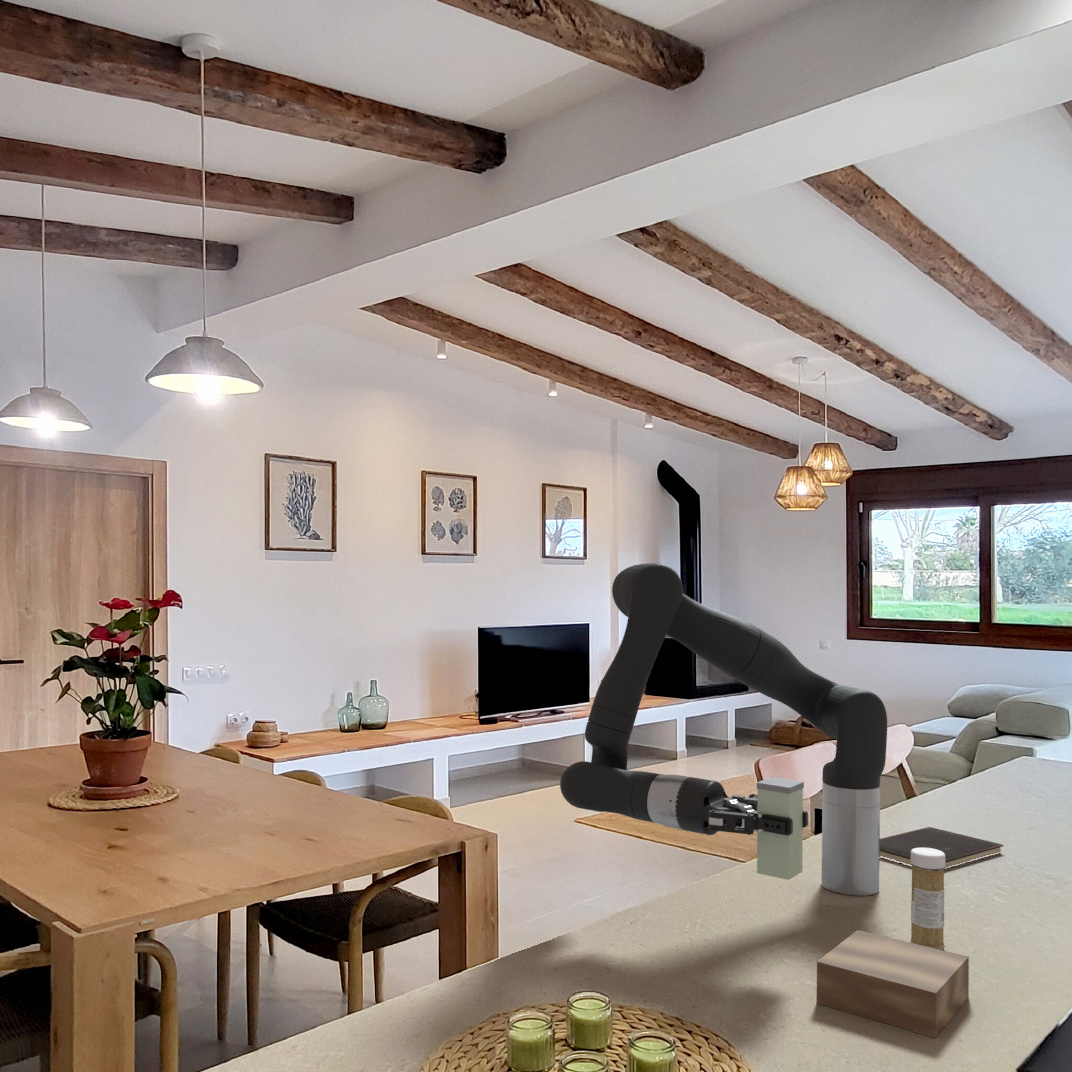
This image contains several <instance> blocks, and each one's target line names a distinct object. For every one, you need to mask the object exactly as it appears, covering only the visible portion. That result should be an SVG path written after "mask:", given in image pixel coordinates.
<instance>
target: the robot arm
mask: <svg viewBox="0 0 1072 1072" xmlns="http://www.w3.org/2000/svg"><path fill="white" fill-rule="evenodd" d="M683 587H684V586H683V583H682V580H681V577H680V576H679V574H678V573H677V571H676V570H675V569H673V568H672V567H671V566H669V565H667V564H664V563H659V562H658V563H657V562H649V563H640V564H634V565H631V566H628V567H626V568H624V569H623V570H621V571H620V572H619V573H618V574H617V575H616V576H615V578H614V580H613V583H612V587H611V592H612V594H611V595H612V599H613V601H614V604H615V606H616V607H617V609H618V610H619V612H621V613H622V614H623V616H625V617H627V622H626V628H625V630H624V634H623V637H622V640H621V643H620V645H619V647H618V650H617V652H616V654H615V656H614V658H613V660H612V662H611V663H610V665H609V667H608V669H607V671H606V673H605V674H604V676H603V678H602V680H601V682H600V684H599V686H598V687H597V691H596V694H595V696H594V699H593V702H592V706H591V709H590V713H589V716H588V719H587V723H586V726H585V729H584V730H585V731H584V738H585V740H586V742H587V743H588V744H589V745H590V746H591V747H592V748H591V750H592V751H591V761H577V762H574V763H572V764H570V765H569V766H568V767H566V769H564V771H563V772H562V775H561V777H560V781H559V782H560V783H559V786H560V787H559V788H560V791H561V795H562V797H563V798H564V800H565V801H566V802H567V803H568V804H569V805H571V806H572V807H574V808H577V809H582V810H588V811H593V812H598V813H599V812H600V813H604V812H605V813H611V814H617V815H618V814H619V815H622V816H625V817H627V818H631V819H635V820H640V821H643V822H649V823H653V824H654V823H655V824H658V825H661V826H663V827H666V828H671V829H676V830H679V831H680V830H681V831H685V832H689V833H690V832H691V833H696V834H701V835H707V836H714V835H715V834H717V833H718V832H723V833H733V834H741V835H742V834H743V835H748V836H750V835H754V832H756V833H757V832H758V833H761V832H764V831H766V832H771V833H776V834H782V835H787V836H788V835H791V834H792V833H793V820H792V819H791V818H788V817H782V816H776V815H771V814H765V817H764V813H762V812H758V811H757V809H758V794H755V793H750V794H748V797H746V796H745V795H742V794H732V795H731V797H729V796H728V795H727V793H726V791H725V788H724V786H723V785H722V783H720V782H719V781H716V780H711V779H706V778H699V777H692V776H685V775H680V774H679V775H678V774H662V773H657V772H651V771H650V772H649V771H642V770H630V769H629V770H628V755H629V754H628V752H629V751H628V749H629V741H630V739H631V735H632V733H633V729H634V726H635V722H636V718H637V715H638V711H639V709H640V706H641V705H640V704H641V701H642V698H643V694H644V691H645V688H646V686H647V683H648V679H649V678H650V674H651V672H652V670H653V666H654V664H655V662H656V659H657V657H658V654H659V652H660V650H661V647H662V645H663V642H664V641H665V639H666V636H668V637H670V638H672V639H673V640H675V641H676V642H679V643H680V644H681V645H683V646H684V647H685V648H687V649H689V651H691V652H693V653H694V654H696V655H697V656H698V657H699V658H701V659H703V660H704V661H706V662H708V663H709V664H711V665H712V666H714V667H716V668H717V669H718V670H719V671H722V672H723V673H725V675H728V677H731V678H733V679H734V680H736V681H737V682H739V683H741V684H742V685H745V686H746V687H748V688H750V689H753V690H754V691H756V692H758V693H760V694H761V695H764V696H765V697H768V698H771V699H772V700H775V701H777V702H779V703H781V704H783V705H785V706H788V707H789V708H791V709H792V710H793V711H794V712H796V713H797V714H798V715H800V716H801V717H803V718H804V719H805V720H806V721H808V722H809V723H810V724H812V725H813V726H814V727H815V728H817V729H818V730H819V731H820V732H821V733H823V734H825V735H826V736H828V737H829V738H832V739H834V740H836V745H835V746H836V747H835V749H836V750H835V757H834V758H833V760H832V761H829V762H826V763H825V764H824V765H823V767H822V777H821V778H822V779H821V780H822V783H821V784H822V789H821V790H822V791H821V792H822V796H821V799H822V801H821V802H822V805H821V806H822V807H821V808H822V809H821V811H822V812H821V816H822V817H821V818H822V821H821V830H822V831H821V886H822V887H823V888H824V889H826V890H828V891H831V892H834V893H837V892H838V893H837V894H842V895H850V896H870V895H871V896H872V895H876V894H878V893H879V892H878V891H880V858H879V857H880V839H881V837H880V836H881V834H880V832H881V829H880V828H881V827H880V825H881V824H880V823H881V822H880V818H881V807H880V806H881V804H880V803H881V802H880V801H881V792H880V791H881V788H880V787H881V776H882V774H883V772H884V769H885V766H886V759H887V743H888V742H887V741H888V715H887V709H886V706H885V704H884V701H882V700H883V699H881V697H879V696H878V695H877V694H876V693H874V692H873V691H870V690H865V689H861V688H857V687H852V686H848V685H847V686H846V685H843V684H840V683H837V682H834V681H833V680H830V679H828V678H826V677H824V676H822V675H820V674H818V673H816V672H814V671H812V670H810V669H809V668H808V667H806V666H805V665H804V664H802V663H801V661H800V660H799V659H798V658H797V657H796V656H795V655H794V654H793V652H792V651H791V650H790V649H789V648H788V647H787V646H786V645H784V643H782V642H781V641H779V639H777V638H776V637H774V636H773V635H771V634H770V633H767V631H765V630H762V629H761V628H759V627H758V626H757V625H755V624H752V623H751V622H749V621H746V620H744V619H743V618H741V617H738V616H735V615H732V614H729V613H727V612H725V611H722V610H719V609H716V608H713V607H710V606H707V605H704V604H702V603H701V602H699V601H696V600H695V599H693V598H690V596H688V595H686V594H685V593H684V588H683ZM808 825H809V813H808V811H806V810H804V809H803V814H802V828H803V829H804V828H806V827H808Z"/></svg>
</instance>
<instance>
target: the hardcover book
mask: <svg viewBox="0 0 1072 1072" xmlns="http://www.w3.org/2000/svg"><path fill="white" fill-rule="evenodd" d="M1002 847H1004V844H1001V843H997V842H994V841H989V840H985V839H981V838H976V837H974V836H973V837H972V836H968V835H964V834H961V833H956V832H953V831H949V830H944V829H939V828H935V827H931V826H928V827H923V828H919V829H915V830H911V831H907V832H902V833H899V834H895V835H890V836H885V837H882V838H881V837H880V856H883V857H887V858H890V859H894V860H896V861H899V862H903V863H906V864H910V865H912V863H911V850H912V849H914V848H932V849H937V850H940V851H942V852H943V853H944V854H945V867H944V868H946V867H949V866H952V865H956V864H960V863H963V862H967V861H970V860H972V859H976V858H979V857H983V856H986V855H990V854H994V853H998V852H1002V850H1001V848H1002Z"/></svg>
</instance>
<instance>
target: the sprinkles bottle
mask: <svg viewBox="0 0 1072 1072" xmlns="http://www.w3.org/2000/svg"><path fill="white" fill-rule="evenodd" d="M911 863H912V867H911V900H910V906H911V907H910V921H911V924H910V925H911V926H910V927H911V929H910V931H911V933H910V935H911V936H910V938H911V939H910V943H914V944H918V945H922V946H926V947H931V948H935V949H939V950H943V951H944V949H945V943H944V942H945V941H944V939H945V938H944V927H945V870H944V869H945V868H944V867H945V854H944V853H943V852H942V851H940V850H937V849H932V848H914V849H912V850H911Z"/></svg>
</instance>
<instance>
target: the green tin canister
mask: <svg viewBox="0 0 1072 1072" xmlns="http://www.w3.org/2000/svg"><path fill="white" fill-rule="evenodd" d="M804 788H805V781H800V780H793V779H789V778H788V779H787V778H781V777H774V776H770V777H768V778H765V779H762V780H760V781H758V782H756V789H757V795H758V809H757V811H758V812H762V813H764V817H765V814H771V815H776V816H782V817H788V818H791V819H792V820H793V833H792V834H791V835H788V836H787V835H782V834H776V833H771V832H766V831H764V832H761V833H758V832H756V833H757V835H756V836H757V838H756V842H757V843H756V845H757V846H756V874H760V875H764V876H769V877H773V878H774V877H775V878H778V879H784V880H786V881H790V880H791V879H793V878H795V877H796V876H798V875H799V874H801V873H803V838H804V837H803V836H804V835H803V832H804V831H803V830H804V828H802V814H803V810H804V804H803V803H804V800H803V798H804V796H803V795H804Z"/></svg>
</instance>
